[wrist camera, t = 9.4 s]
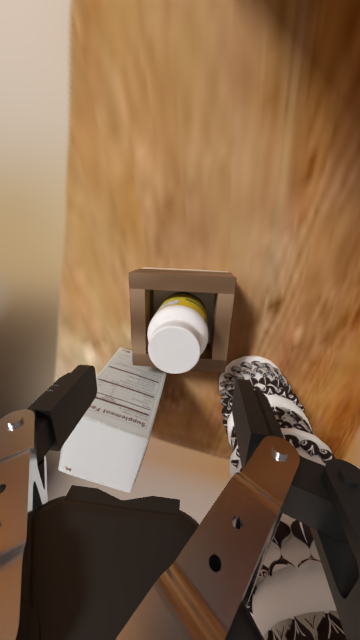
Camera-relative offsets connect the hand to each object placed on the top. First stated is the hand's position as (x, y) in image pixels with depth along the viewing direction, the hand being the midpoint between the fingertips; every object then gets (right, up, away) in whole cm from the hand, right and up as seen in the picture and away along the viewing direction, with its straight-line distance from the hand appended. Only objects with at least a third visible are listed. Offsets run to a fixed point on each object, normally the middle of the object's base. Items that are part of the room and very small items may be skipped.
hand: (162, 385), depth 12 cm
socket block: (+2, +5, +15) cm, 15 cm away
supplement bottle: (+1, +5, +13) cm, 14 cm away
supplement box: (-5, -4, +19) cm, 19 cm away
